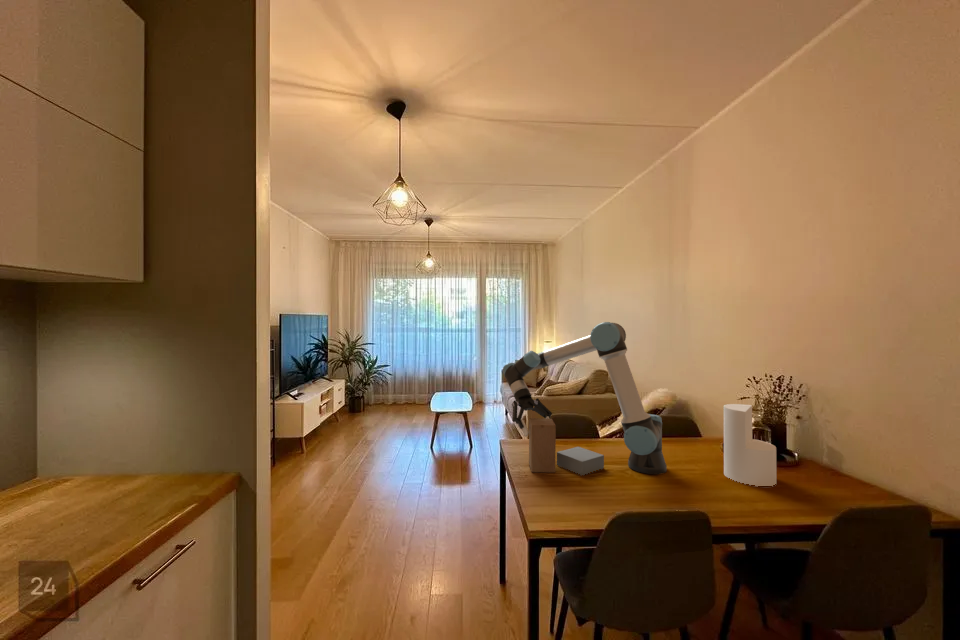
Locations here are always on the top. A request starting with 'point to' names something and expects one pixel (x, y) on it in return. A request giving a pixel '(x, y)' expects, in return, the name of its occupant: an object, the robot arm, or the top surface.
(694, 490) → the top surface
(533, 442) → the wooden block
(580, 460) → the slate base block
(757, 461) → the white stepped column
